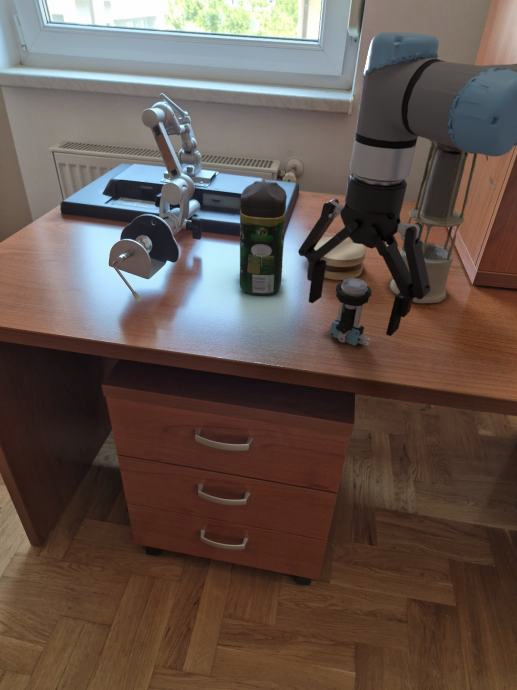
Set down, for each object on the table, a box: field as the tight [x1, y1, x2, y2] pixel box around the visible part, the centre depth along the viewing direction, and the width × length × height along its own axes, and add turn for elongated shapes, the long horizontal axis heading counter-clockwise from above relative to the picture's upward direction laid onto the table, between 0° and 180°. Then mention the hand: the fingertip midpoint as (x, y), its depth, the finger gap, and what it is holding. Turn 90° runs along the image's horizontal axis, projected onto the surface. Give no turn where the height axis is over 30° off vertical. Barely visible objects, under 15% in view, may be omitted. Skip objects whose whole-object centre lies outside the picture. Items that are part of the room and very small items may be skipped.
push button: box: [329, 277, 373, 347], centre depth 73 cm, size 7×5×10 cm
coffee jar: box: [239, 180, 288, 296], centre depth 85 cm, size 10×8×19 cm
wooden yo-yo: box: [307, 236, 367, 281], centre depth 96 cm, size 12×12×4 cm
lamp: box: [389, 140, 496, 304], centre depth 82 cm, size 10×13×30 cm
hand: (351, 315), depth 74 cm, fingers open, 13 cm apart
